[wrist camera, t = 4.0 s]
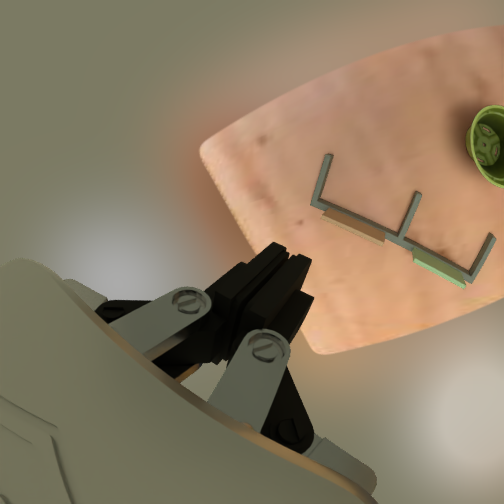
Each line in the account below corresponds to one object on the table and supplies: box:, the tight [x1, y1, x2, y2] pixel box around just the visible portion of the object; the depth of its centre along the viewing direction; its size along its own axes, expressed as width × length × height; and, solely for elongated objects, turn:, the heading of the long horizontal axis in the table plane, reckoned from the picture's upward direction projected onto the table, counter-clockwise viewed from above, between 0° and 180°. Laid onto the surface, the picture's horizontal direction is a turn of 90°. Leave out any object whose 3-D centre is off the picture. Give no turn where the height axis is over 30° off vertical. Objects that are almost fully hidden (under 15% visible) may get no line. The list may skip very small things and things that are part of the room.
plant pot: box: [465, 105, 504, 188], centre depth 21 cm, size 9×9×9 cm
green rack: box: [310, 154, 496, 289], centre depth 32 cm, size 8×28×6 cm, turn 77°
